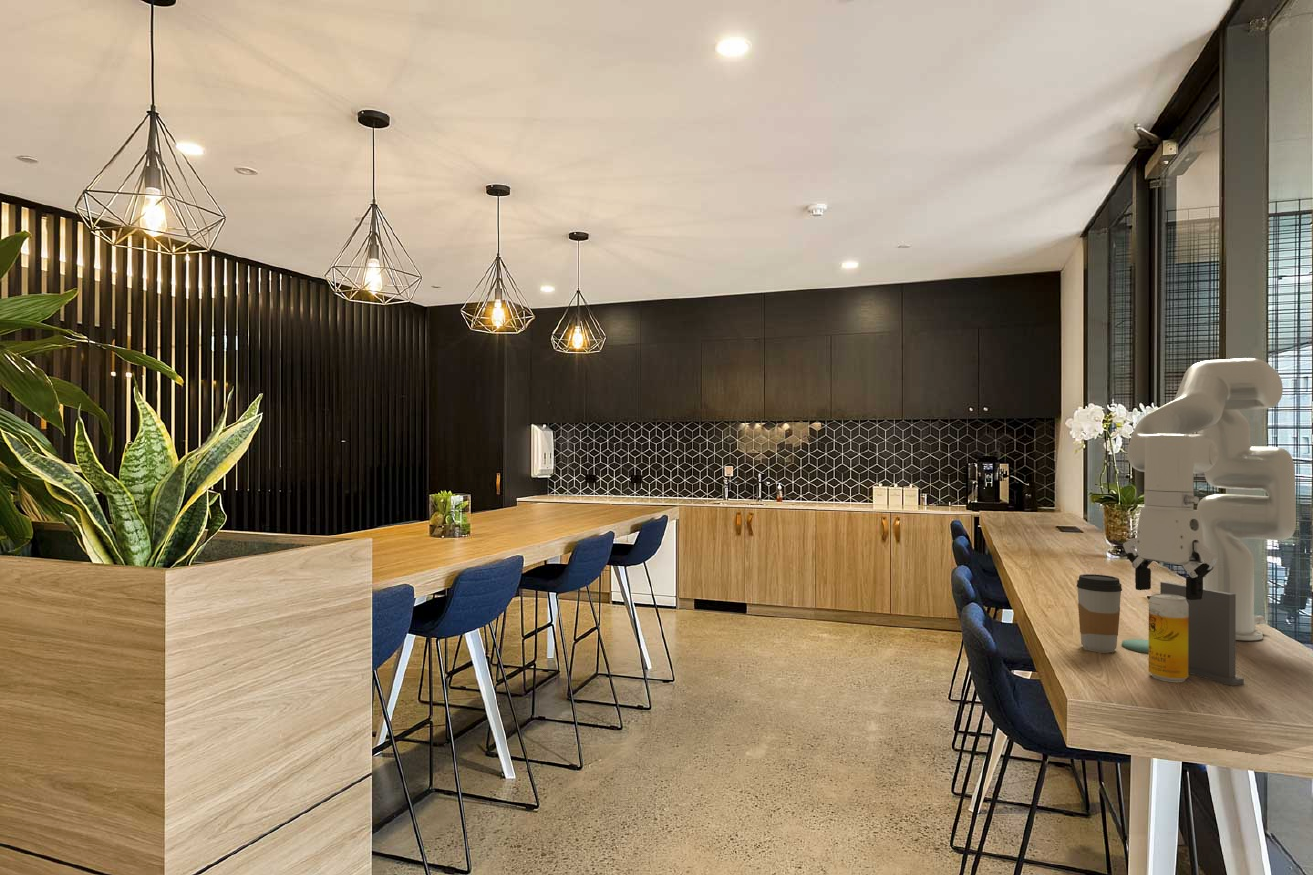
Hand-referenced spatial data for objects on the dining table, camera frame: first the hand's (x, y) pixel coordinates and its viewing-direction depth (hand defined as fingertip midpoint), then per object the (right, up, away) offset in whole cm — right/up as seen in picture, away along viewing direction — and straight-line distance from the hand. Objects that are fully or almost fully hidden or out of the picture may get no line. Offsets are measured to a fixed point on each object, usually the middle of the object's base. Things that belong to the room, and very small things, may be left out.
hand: (1167, 594), depth 141 cm
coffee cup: (-1, -16, +20) cm, 25 cm away
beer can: (0, -16, 0) cm, 16 cm away
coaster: (+10, -16, +21) cm, 28 cm away
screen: (+8, -16, +3) cm, 18 cm away
